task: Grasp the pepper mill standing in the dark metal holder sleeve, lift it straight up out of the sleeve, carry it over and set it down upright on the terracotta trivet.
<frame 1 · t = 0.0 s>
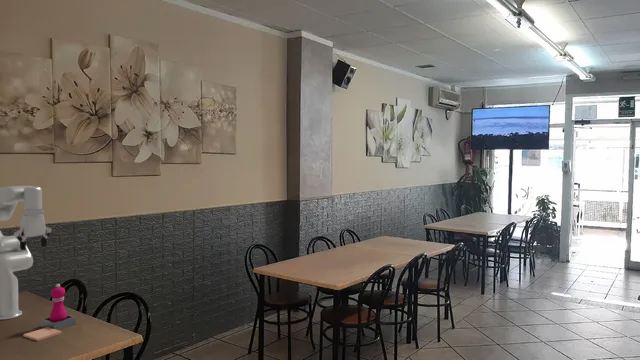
hand: (33, 248, 230), 37 cm above the table, tool pointing down, fingers open, 9 cm apart
pepper mill: (58, 325, 230), resting in holder sleeve
trivet: (42, 334, 217), on the table
holder sleeve: (58, 325, 230), on the table
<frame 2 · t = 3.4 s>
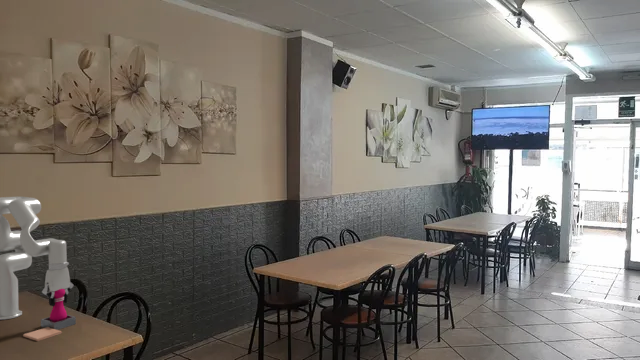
hand: (58, 303, 229), 10 cm above the table, tool pointing down, fingers closed on pepper mill, 5 cm apart
pepper mill: (58, 325, 230), resting in holder sleeve, touching gripper
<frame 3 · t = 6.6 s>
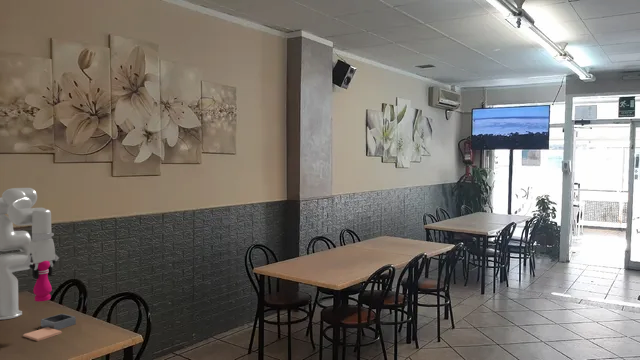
hand: (42, 276, 216), 26 cm above the table, tool pointing down, fingers closed on pepper mill, 5 cm apart
pepper mill: (42, 300, 217), point 16 cm above the table, touching gripper
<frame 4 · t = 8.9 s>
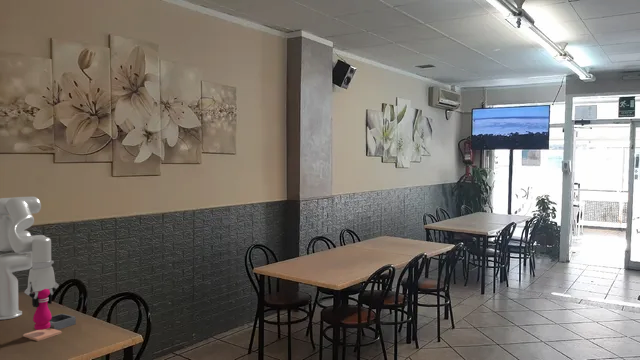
hand: (42, 304, 216), 14 cm above the table, tool pointing down, fingers closed on pepper mill, 5 cm apart
pepper mill: (42, 328, 217), point 3 cm above the table, touching gripper
when the fingers open (13 cm above the table, at t = 10.0 s): pepper mill drops 1 cm, resting on trivet.
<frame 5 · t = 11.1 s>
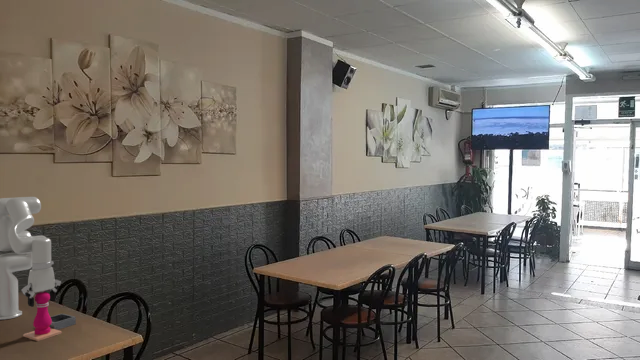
hand: (42, 303, 216), 14 cm above the table, tool pointing down, fingers open, 9 cm apart
pepper mill: (42, 332, 217), point 1 cm above the table, touching trivet
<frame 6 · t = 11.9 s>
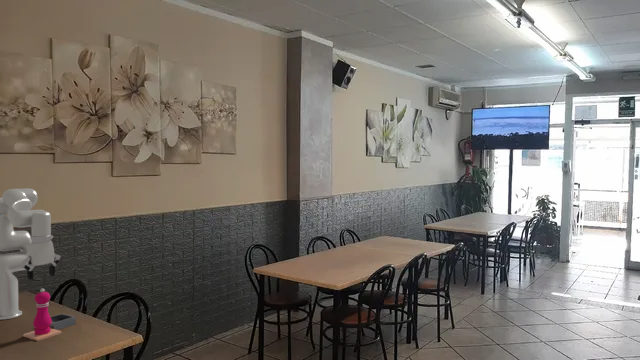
hand: (41, 277, 216), 26 cm above the table, tool pointing down, fingers open, 9 cm apart
nothing on the table moved.
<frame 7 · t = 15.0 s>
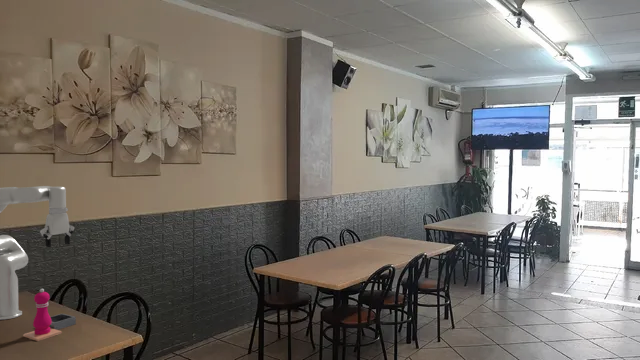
hand: (58, 245, 240), 36 cm above the table, tool pointing down, fingers open, 9 cm apart
nothing on the table moved.
at the end: pepper mill 0.3 cm off-centre on the trivet, point 0.8 cm above the trivet's base; pepper mill tilted 0°; the gripper is holding nothing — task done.
